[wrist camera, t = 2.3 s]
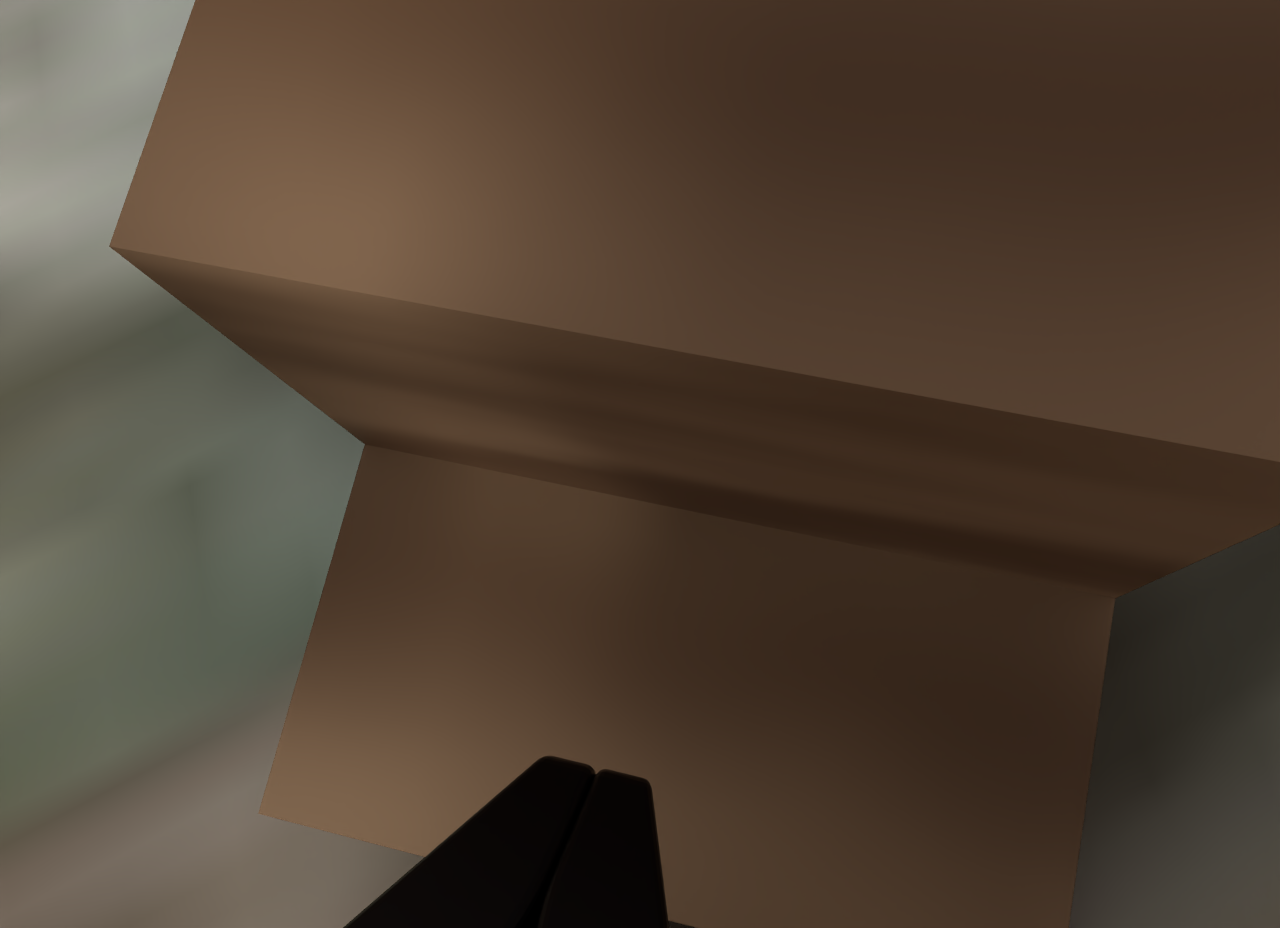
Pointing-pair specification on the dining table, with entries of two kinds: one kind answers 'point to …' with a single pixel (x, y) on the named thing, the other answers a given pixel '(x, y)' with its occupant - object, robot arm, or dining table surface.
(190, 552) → the dining table surface
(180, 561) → the dining table surface
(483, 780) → the brown stepped block
